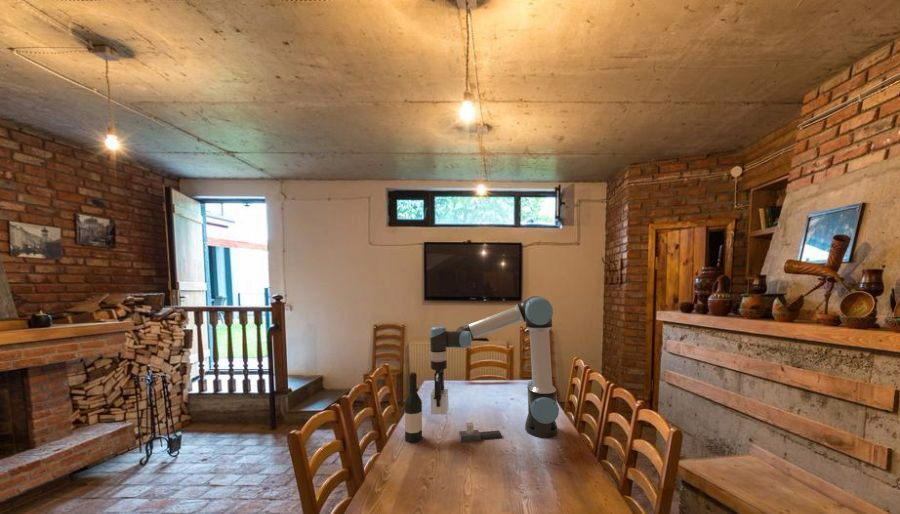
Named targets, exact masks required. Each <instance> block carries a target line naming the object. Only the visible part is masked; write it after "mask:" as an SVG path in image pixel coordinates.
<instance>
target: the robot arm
mask: <svg viewBox="0 0 900 514" xmlns="http://www.w3.org/2000/svg"><path fill="white" fill-rule="evenodd" d="M553 315H554V308H553V306H552V304H551V303H550V301H549V300H548V299H546V298H545V297H542V296H538V295H534V296H530V297H528V298H526V299H524V300H523V301H520V302H518V303H516V305H515V306H513V307H511V308H509V309H506V310H503V311H501V312H499V313H495V314H493V315H490V316H486V317H484V318H482V319H479V320H477V321H474V322H471V323H469V324H466V325H463V326H460V327H457V329H456V330H452V331H451V330H449V331H448V330H447V329H446V327H445V326H433V327H430V331H429V334H430V337H429V340H430V341H429V342H430V352H429V356H430V369H431V370H433V371H435V372H434V376H433V379H434V389H435V397H434V399H435V404H436V414H435V415H443V414H442V401H441V389H445V378H444V377H445V376H444V373H445V372H444V370H446V369H447V367H448V366H447V365H448V363H447V362H448V361H447V359H448V357H447V353H448V352H447V348H456V349H457V348H459V349H460V348H461V349H462V348H463V349H464V348H471V346H472V340H474V339H476V338H479V337H482V336H485V335H487V334H490V333H492V332H496V331H498V330H502V329H503V328H506V327H509V326H512V325H514V324H518V323H520V322H522V323H525V327H526V329H527V330H528V331H529V342H530V343H529V344H530V346H529V347H530V362H531V363H530V364H531V365H530V366H531V367H530V368H531V380H529V381H528V382H527V386H526V388H527V403H528V405H527V406H528V407H527V408H528V410H527V411H528V413H527V417H526V420H525V424H524V427H525V428H524V429H525V432H527V433H528V434H530V435H531V436H534V437H538V438H552V437H554V436H557V435H558V432H559V431H558V429H559V428H558V425H557V422H556V420H557V419H558V417H559V413H560V408H559V404H558V401H557V400H558V399H557V388H556V387H555V386H554V385H553V378H552V377H553V376H552V361H551V360H552V358H551V343H550V340H551V339H550V330H551V329H552V328H553Z"/></svg>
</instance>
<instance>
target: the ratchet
mask: <svg viewBox="0 0 900 514" xmlns="http://www.w3.org/2000/svg"><path fill="white" fill-rule="evenodd" d="M464 426H465V430H459V431H458V437H459V440H460V443H468V442H469V443H470V442H477V441H479V442H480V441H481V440H490V439H491V440H492V439H500V438H502V433H501V431H500V430H499V429H498V430H491V431H490V430H489V431H488V430H487V431H479V430H478V429H475V428H474V427H475V425H474V423H473V421H471V422H465V425H464Z"/></svg>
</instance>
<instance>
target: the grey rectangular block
mask: <svg viewBox="0 0 900 514" xmlns="http://www.w3.org/2000/svg"><path fill="white" fill-rule="evenodd" d="M434 397H435V388H433V389H432V391H431V393H430V414H431V415H437V414H436V404H435V399H434ZM441 401H442V414H441V415H445V416H447V414H448V411H449V389H448V388H444V389H441Z"/></svg>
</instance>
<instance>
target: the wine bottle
mask: <svg viewBox="0 0 900 514" xmlns="http://www.w3.org/2000/svg"><path fill="white" fill-rule="evenodd" d="M417 376H418V375H417V373H416V371H410V373H409V393H408V394H407V396H406V398H405V400H404V441H405V442H407V443H410V444H412V443H418V442H421V441H422V440H423V402H422V399H421V397H420V395H419V393H418V391H417V387H418V385H417V382H418V380H417Z"/></svg>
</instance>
